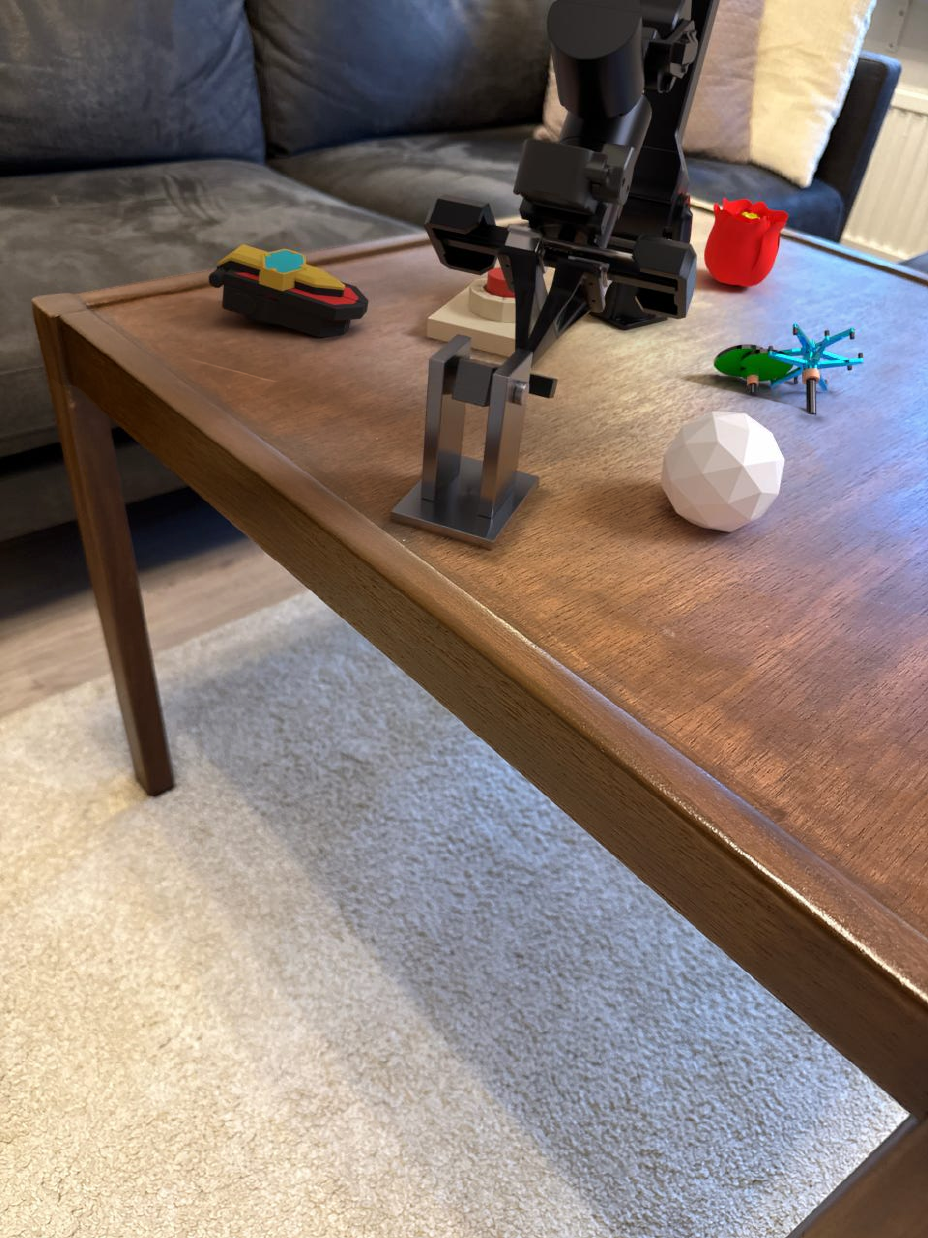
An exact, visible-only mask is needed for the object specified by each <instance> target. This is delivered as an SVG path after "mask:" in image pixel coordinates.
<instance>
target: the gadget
mask: <svg viewBox="0 0 928 1238" xmlns="http://www.w3.org/2000/svg"><path fill="white" fill-rule="evenodd" d="M208 283H209V285H210V286H211V287H213V288H215V289H220V288H221V287H222V301H221V308H222V309H223V310H226V311H230V312H232V313H236V314H239V315H242V316H243V317H245V319H246V320H249V321H252V322H254V323H257V324H261V325H262V324H264V325H280V326H283V327H285V328H289V329H292V330H296V331H299V332H301V333H305V334H308V335H312V336H314V337H318V338H327V337H337V336H342V335H343V336H344V335H346V334H347V331H349V329H350V328H351V327H350V326H351V320H352V321H353V320H361V319H363V317H364V316H365V315H366V313H367V311H368V308H369V301H370V300H369V299H368V298H367V297H366V296H365V295H364V293H363V292H362V291H361V290H360V289H359V288H358V286H356V285H353V284H350V283H346V282H344V281H340V280H338V279H337V278H336V277H334V276H333V275H331V274H330V273H328V272H327V271H325V270H324V269H322V268H320V267H316V266H313V265H310V264H307V260H306V254H304V253H301V252H297V251H295V250H291V249H288V248H281V249H276V250H274V251H266V250H262V249H260V248H256V247H254V246H251V245H248V244H244V243H242V244H241V245H239V246H238V247H237V248H236V249H234V250H233V251H231V252H230V253H228V254H227V255H226V256H225V257H224V258H222V259H221V260H219V261H218V262H217V263H216V269H215V270H213V271H212V272H211V273H210V274H209V275H208Z"/></svg>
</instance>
